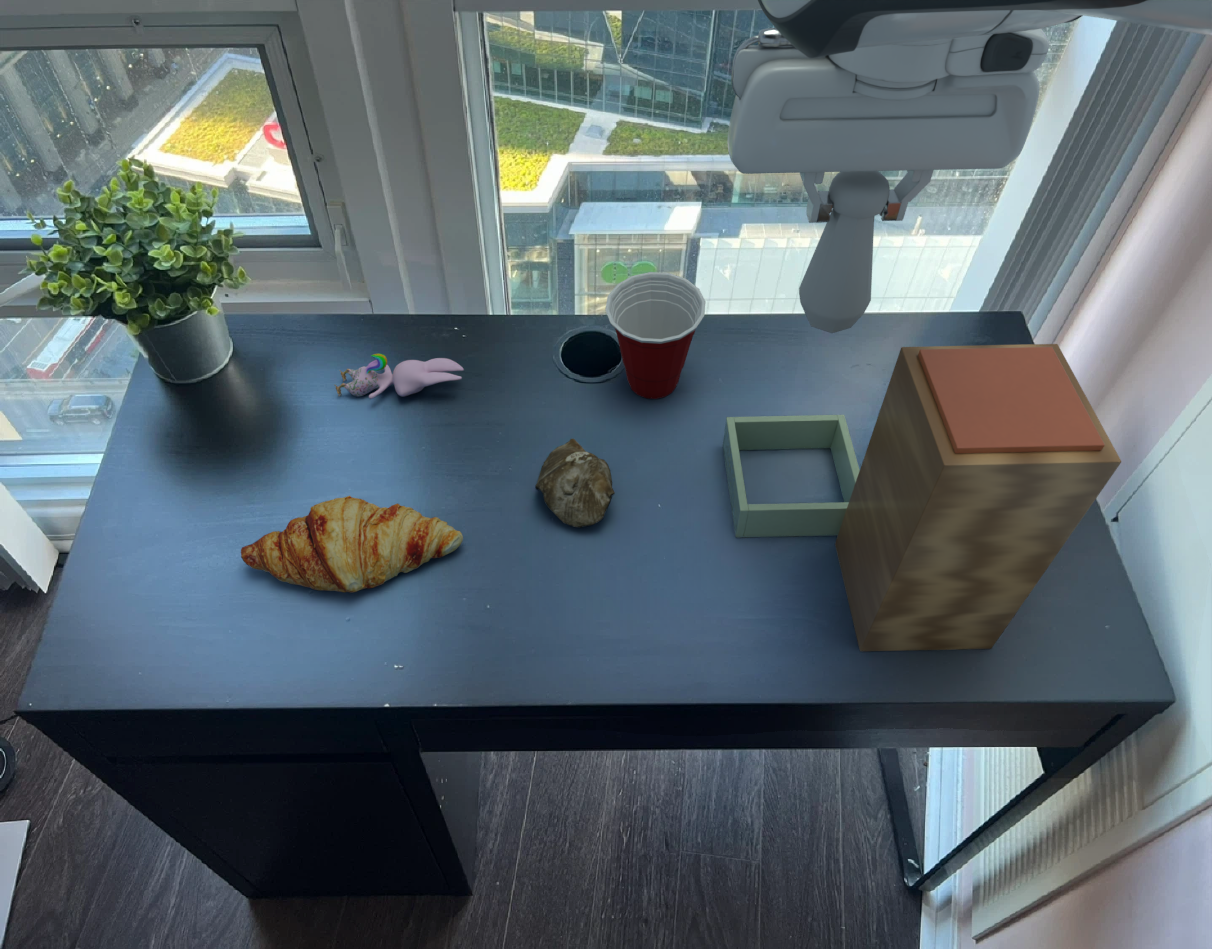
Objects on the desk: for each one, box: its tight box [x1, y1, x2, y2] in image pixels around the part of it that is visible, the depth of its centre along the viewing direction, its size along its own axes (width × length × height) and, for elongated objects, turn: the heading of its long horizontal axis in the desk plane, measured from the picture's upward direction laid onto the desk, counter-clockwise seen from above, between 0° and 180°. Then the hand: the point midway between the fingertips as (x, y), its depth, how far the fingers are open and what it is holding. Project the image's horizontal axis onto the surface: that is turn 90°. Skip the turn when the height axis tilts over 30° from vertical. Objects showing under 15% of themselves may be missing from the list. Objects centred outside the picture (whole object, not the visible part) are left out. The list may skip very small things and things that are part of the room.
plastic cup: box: [604, 271, 707, 400], centre depth 95 cm, size 11×11×12 cm
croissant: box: [240, 495, 464, 593], centre depth 82 cm, size 21×10×8 cm, turn 98°
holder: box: [722, 414, 860, 538], centre depth 87 cm, size 13×13×4 cm
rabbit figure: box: [334, 353, 465, 400], centre depth 97 cm, size 6×6×15 cm
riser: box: [834, 343, 1122, 652], centre depth 70 cm, size 12×12×26 cm
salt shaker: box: [798, 171, 891, 334], centre depth 66 cm, size 6×6×13 cm
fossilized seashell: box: [534, 438, 616, 529], centre depth 87 cm, size 8×7×10 cm
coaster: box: [918, 347, 1105, 453], centre depth 60 cm, size 10×10×1 cm
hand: (853, 217), depth 64 cm, fingers closed on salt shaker, 4 cm apart
